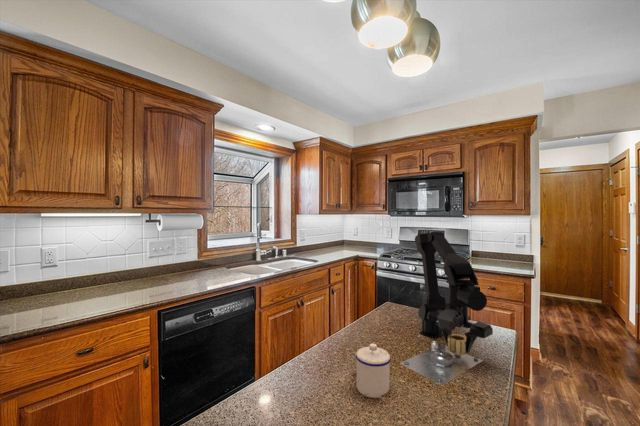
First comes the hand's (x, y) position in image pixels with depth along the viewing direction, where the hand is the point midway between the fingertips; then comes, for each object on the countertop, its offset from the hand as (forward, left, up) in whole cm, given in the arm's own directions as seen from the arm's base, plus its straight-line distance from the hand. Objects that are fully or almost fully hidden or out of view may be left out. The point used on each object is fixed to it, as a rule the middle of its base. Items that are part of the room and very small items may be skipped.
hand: (457, 348), depth 94 cm
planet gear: (0, 0, 0) cm, 0 cm away
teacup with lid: (-6, -34, -3) cm, 35 cm away
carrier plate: (-1, -8, -3) cm, 8 cm away
